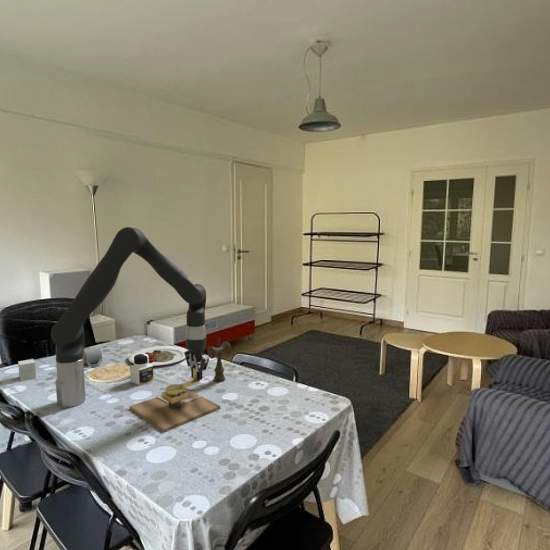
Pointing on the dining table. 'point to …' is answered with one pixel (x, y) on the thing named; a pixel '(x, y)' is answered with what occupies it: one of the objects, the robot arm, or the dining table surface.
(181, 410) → the post base
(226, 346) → the kendama
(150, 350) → the plated food
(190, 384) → the gold piece
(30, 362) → the product box
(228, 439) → the dining table surface
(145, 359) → the medicine bottle
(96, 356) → the ceramic mug
